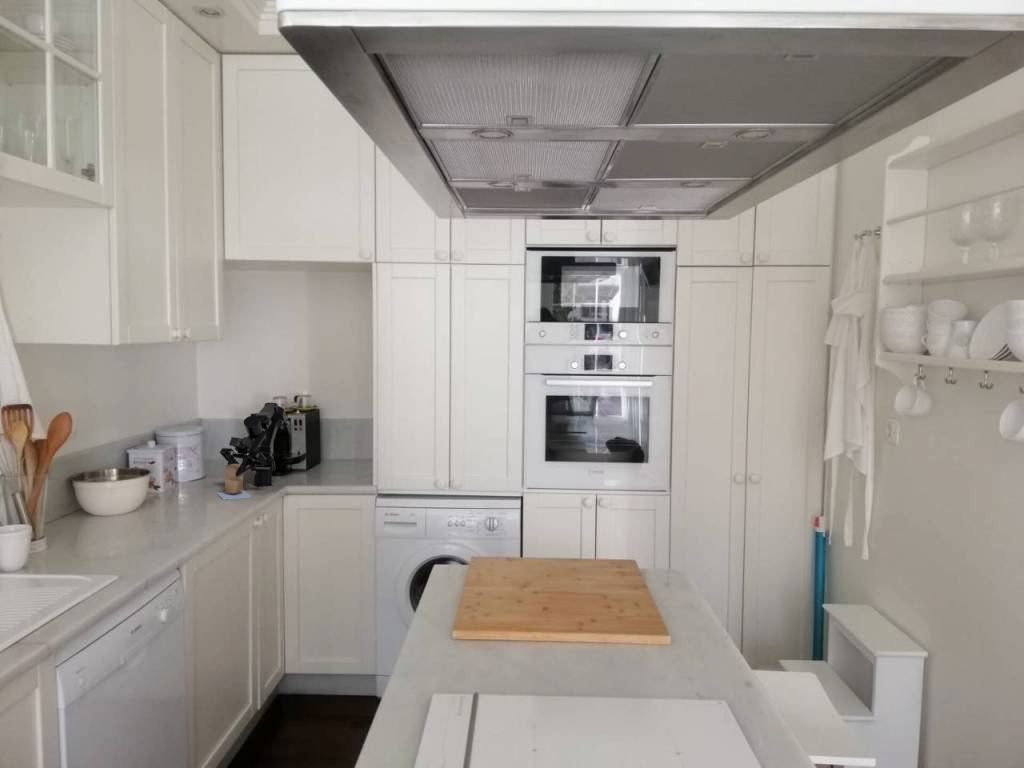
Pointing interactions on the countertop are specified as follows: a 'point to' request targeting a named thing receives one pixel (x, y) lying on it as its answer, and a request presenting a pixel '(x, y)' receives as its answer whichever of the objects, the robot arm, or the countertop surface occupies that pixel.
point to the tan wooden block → (233, 479)
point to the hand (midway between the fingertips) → (231, 474)
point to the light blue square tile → (233, 495)
